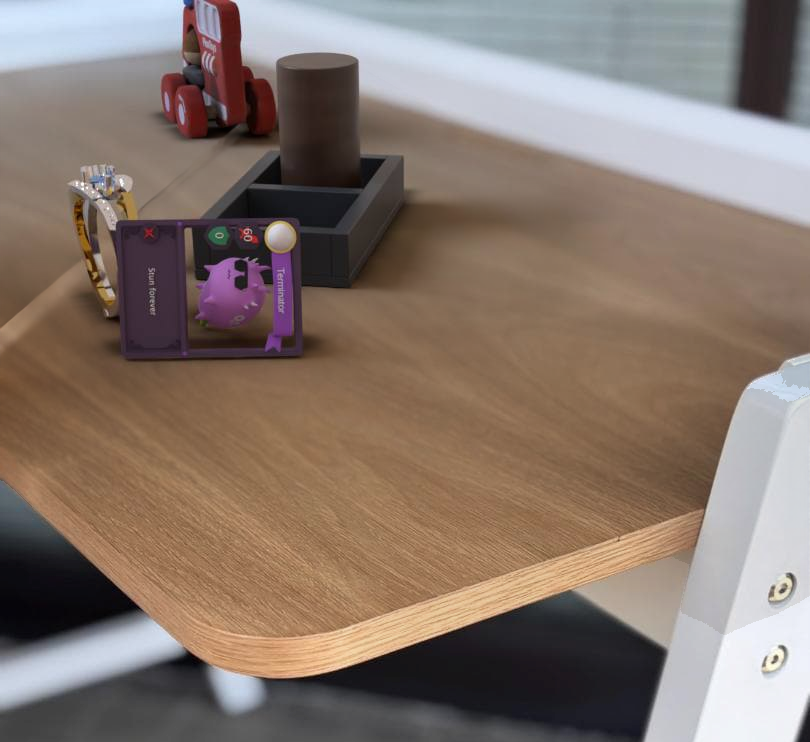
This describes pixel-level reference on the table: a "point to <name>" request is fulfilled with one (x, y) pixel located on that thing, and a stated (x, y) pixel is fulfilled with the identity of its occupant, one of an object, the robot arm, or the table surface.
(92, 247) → the ring
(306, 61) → the brown wooden cylinder
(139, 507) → the table surface
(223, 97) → the toy fire truck
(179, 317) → the game card
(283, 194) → the grid
